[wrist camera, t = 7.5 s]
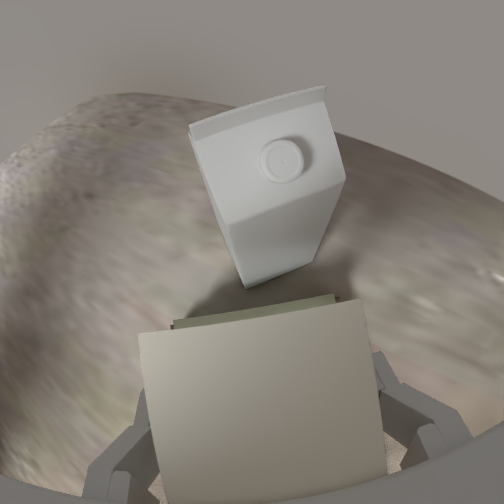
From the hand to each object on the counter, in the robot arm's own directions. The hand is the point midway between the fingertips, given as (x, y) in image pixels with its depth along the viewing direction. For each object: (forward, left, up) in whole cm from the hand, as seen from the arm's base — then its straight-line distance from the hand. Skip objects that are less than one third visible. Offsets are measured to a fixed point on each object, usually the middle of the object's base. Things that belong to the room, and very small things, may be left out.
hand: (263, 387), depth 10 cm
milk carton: (-7, +10, -19) cm, 23 cm away
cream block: (0, 0, -4) cm, 4 cm away
